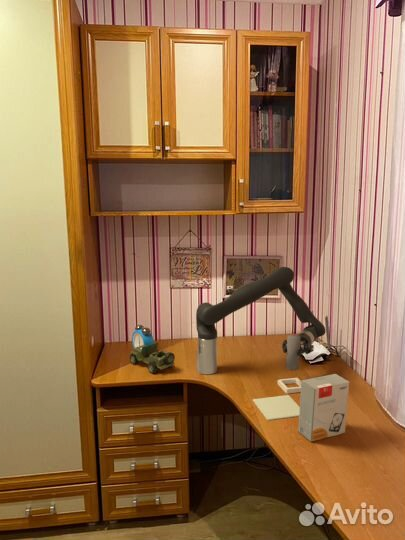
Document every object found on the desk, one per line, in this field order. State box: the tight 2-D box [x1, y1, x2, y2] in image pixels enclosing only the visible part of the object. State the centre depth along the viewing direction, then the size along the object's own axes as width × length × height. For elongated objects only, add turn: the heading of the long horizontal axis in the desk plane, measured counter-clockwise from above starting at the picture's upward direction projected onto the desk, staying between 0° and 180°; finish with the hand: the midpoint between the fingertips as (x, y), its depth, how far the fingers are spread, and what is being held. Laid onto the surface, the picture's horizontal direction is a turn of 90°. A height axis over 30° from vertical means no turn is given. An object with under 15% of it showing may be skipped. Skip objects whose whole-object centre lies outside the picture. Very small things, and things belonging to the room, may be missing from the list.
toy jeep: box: [129, 341, 176, 375], centre depth 207 cm, size 12×25×11 cm, turn 44°
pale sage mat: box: [252, 394, 300, 421], centre depth 168 cm, size 16×16×1 cm
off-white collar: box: [277, 377, 302, 395], centre depth 185 cm, size 10×10×2 cm
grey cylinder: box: [285, 334, 300, 371], centre depth 182 cm, size 6×6×14 cm
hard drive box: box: [298, 373, 350, 443], centre depth 149 cm, size 16×8×20 cm, turn 114°
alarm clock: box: [131, 324, 155, 349], centre depth 224 cm, size 13×6×15 cm, turn 40°
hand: (291, 352), depth 180 cm, fingers closed on grey cylinder, 5 cm apart
